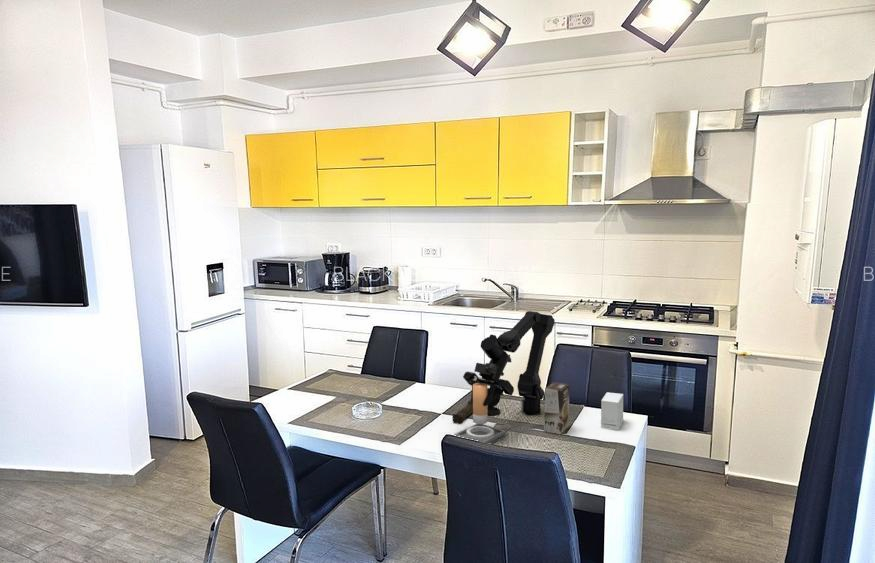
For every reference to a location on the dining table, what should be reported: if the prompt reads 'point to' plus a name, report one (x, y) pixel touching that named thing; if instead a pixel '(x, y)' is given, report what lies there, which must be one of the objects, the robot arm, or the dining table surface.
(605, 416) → the skincare box
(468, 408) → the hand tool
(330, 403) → the dining table surface
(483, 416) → the peach bulb knob
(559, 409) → the coffee box
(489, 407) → the webcam
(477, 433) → the housing
